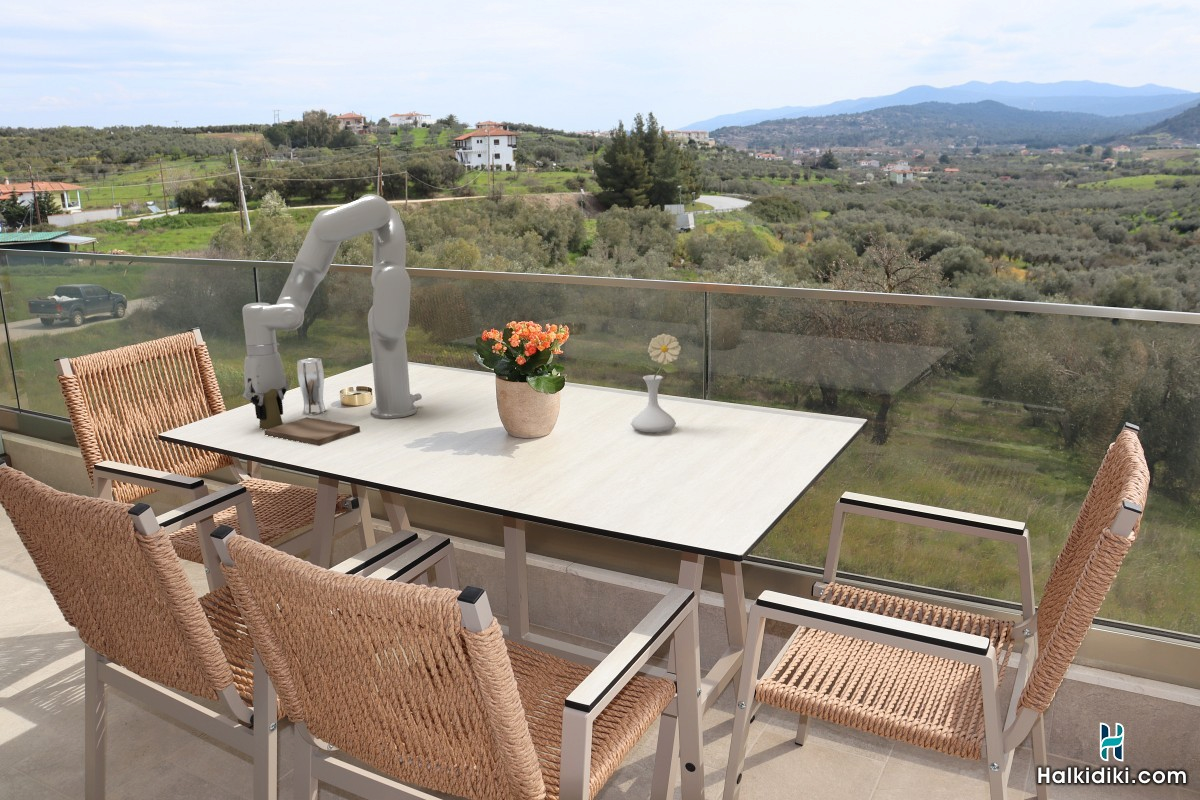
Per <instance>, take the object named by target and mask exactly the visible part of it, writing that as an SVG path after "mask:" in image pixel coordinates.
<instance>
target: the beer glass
mask: <svg viewBox="0 0 1200 800" xmlns="http://www.w3.org/2000/svg"><path fill="white" fill-rule="evenodd" d="M296 363H297V367H296V368H297V369H296V370H297V378H298V384H299V388H300V392H301V394H302V397H303V412H302V413H303V414H304V415H307V414H315V415H320V414H324V413H326V411H327V410H326V406H325V402H324V387H325V386H324V384H325V375H324V367H323V363H322V359H321V358H316V357H315V358H314V357H311V358H303V359H298V360H297V361H296ZM323 412H324V413H323Z"/></svg>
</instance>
